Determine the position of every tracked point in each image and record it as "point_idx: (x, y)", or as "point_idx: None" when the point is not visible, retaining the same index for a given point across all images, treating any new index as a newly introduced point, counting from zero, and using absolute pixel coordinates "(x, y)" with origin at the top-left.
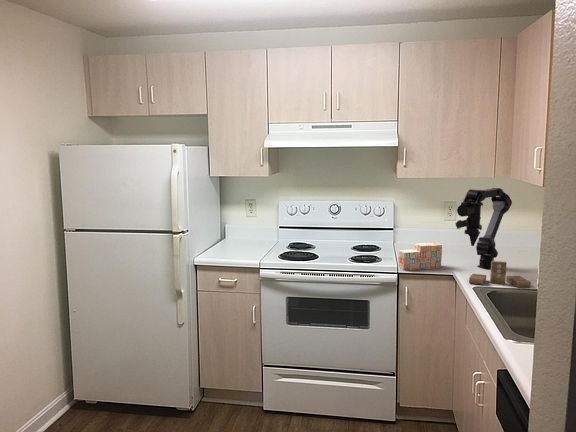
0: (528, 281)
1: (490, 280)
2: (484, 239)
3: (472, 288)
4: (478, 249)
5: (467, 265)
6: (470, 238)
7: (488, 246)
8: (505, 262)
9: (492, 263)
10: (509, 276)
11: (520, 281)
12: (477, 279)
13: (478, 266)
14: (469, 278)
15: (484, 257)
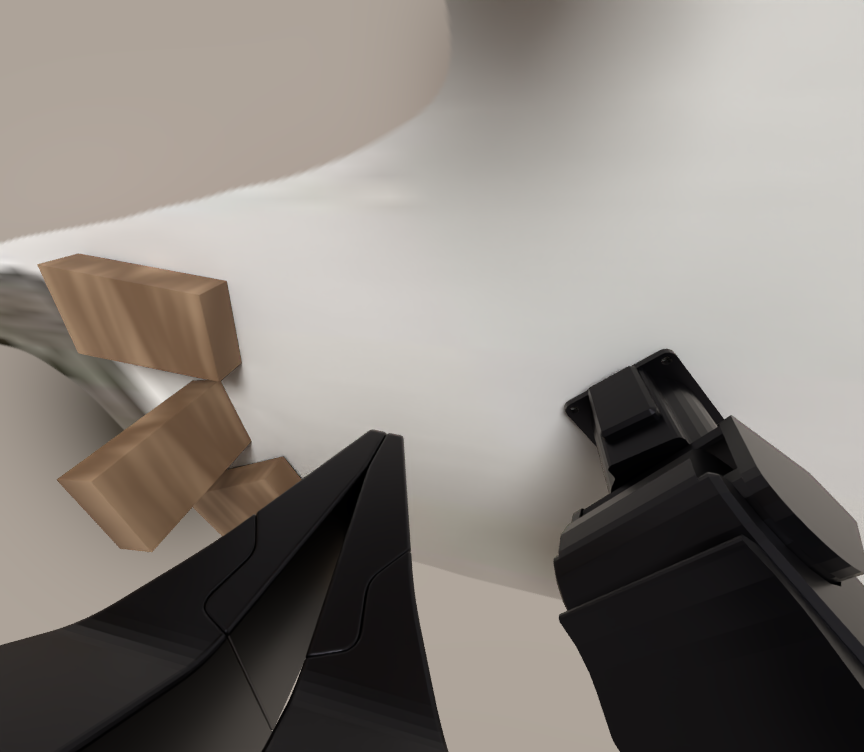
0: (220, 533)
1: (203, 386)
2: (715, 718)
3: (11, 270)
4: (671, 477)
5: (731, 254)
6: (213, 552)
7: (570, 609)
8: (124, 546)
9: (70, 472)
10: (261, 488)
11: (195, 507)
12: (68, 317)
13: (649, 357)
14: (45, 264)
15: (611, 459)
